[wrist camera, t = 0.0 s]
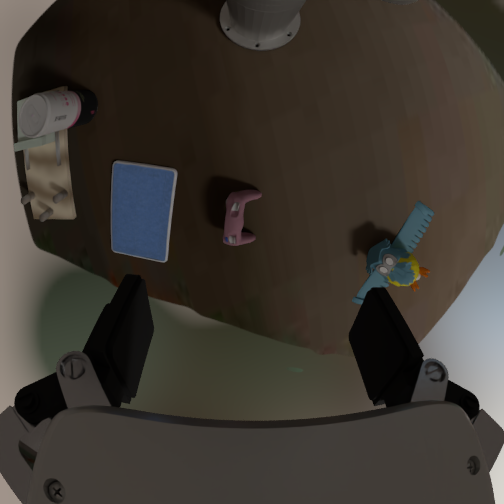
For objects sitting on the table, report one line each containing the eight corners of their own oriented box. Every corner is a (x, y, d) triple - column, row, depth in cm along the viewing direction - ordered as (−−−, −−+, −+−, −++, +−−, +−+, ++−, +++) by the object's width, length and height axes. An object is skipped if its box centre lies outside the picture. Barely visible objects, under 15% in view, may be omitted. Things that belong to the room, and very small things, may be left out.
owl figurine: (389, 333, 55) (341, 320, 52) (377, 309, 62) (331, 293, 59) (463, 235, 42) (422, 202, 39) (441, 217, 50) (399, 186, 46)
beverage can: (81, 131, 38) (30, 148, 25) (65, 107, 35) (12, 118, 22) (105, 107, 36) (54, 114, 24) (88, 83, 34) (35, 84, 21)
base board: (25, 99, 32) (11, 101, 28) (67, 86, 33) (53, 86, 29) (37, 216, 46) (25, 225, 42) (76, 216, 47) (64, 226, 43)
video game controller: (240, 183, 47) (220, 193, 41) (264, 189, 45) (246, 200, 40) (235, 233, 52) (216, 248, 46) (257, 240, 50) (239, 256, 45)
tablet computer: (168, 260, 53) (166, 264, 52) (112, 249, 52) (110, 252, 50) (179, 167, 44) (177, 169, 43) (114, 158, 42) (111, 160, 41)
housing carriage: (27, 99, 31) (12, 102, 27) (55, 90, 32) (41, 91, 28) (28, 146, 36) (14, 151, 32) (56, 140, 37) (41, 145, 33)
